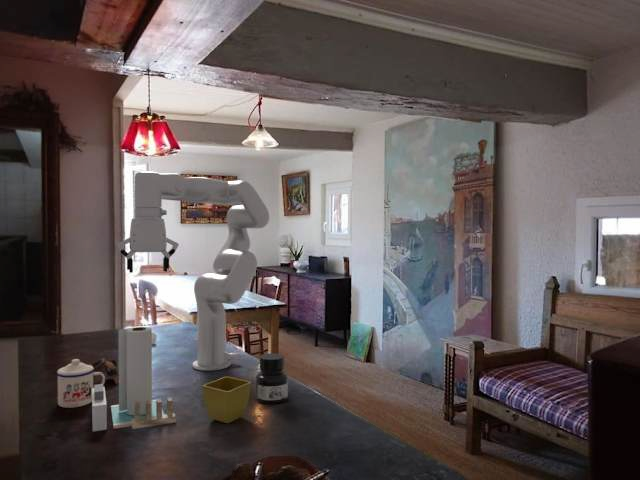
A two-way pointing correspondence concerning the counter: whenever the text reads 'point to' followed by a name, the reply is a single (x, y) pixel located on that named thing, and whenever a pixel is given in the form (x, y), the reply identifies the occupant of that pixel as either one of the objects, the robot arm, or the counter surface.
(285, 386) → the ink bottle
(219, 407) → the flower pot
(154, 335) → the elephant figurine
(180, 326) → the counter surface
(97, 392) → the block
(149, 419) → the cable comb
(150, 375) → the paper towel roll
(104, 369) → the pottery mug
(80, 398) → the teacup with lid
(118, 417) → the pad
